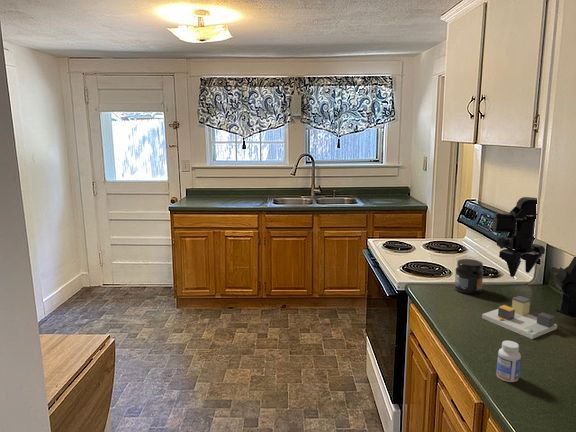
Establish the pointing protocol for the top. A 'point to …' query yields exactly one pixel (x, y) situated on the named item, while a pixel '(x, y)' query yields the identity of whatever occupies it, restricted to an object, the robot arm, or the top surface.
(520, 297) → the block
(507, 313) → the tagged toggle
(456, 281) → the supplement container
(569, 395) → the top surface
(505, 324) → the panel
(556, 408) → the top surface
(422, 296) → the top surface
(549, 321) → the plain toggle
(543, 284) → the top surface
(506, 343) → the pill bottle
